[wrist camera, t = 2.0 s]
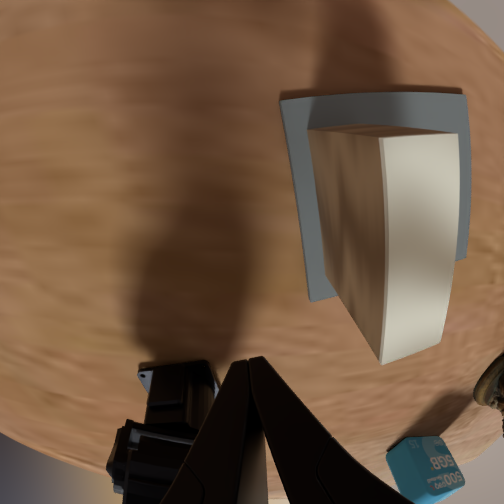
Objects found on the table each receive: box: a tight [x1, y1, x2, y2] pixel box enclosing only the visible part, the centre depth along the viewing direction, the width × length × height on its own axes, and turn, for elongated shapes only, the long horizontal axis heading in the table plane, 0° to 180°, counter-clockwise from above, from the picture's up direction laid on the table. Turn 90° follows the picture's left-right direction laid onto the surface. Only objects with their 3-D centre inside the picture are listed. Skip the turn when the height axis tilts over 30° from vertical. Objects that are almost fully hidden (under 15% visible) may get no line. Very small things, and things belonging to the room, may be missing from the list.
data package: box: [386, 436, 465, 504], centre depth 32 cm, size 12×4×12 cm, turn 63°
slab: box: [307, 124, 460, 365], centre depth 15 cm, size 10×4×9 cm, turn 11°
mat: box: [279, 92, 471, 302], centre depth 20 cm, size 14×15×1 cm
